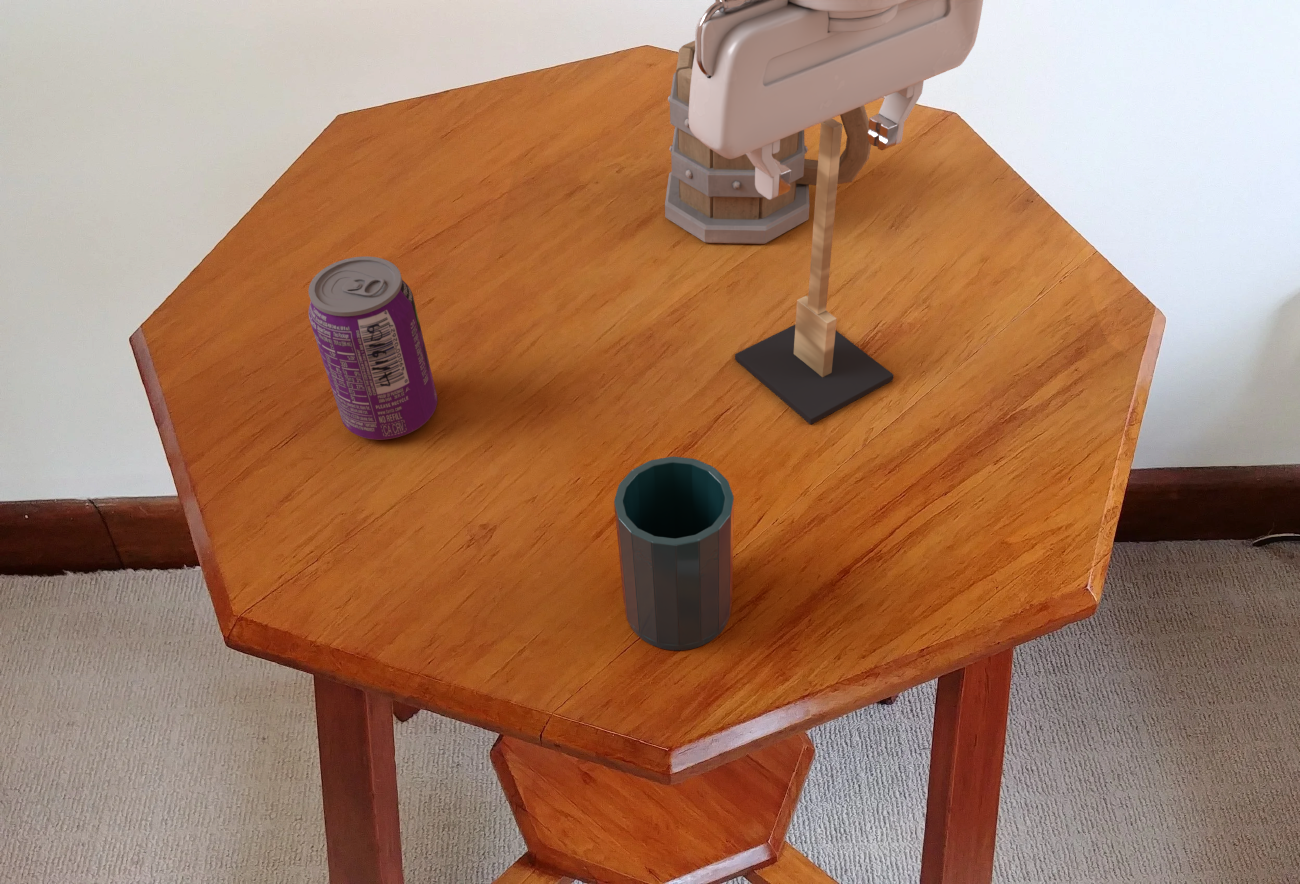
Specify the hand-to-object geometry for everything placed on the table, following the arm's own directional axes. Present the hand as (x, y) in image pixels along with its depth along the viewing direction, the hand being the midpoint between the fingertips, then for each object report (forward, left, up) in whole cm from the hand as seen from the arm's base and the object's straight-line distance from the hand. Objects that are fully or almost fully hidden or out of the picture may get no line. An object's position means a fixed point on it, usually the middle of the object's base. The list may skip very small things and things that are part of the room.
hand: (829, 167), depth 73 cm
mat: (0, 0, -17) cm, 17 cm away
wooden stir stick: (0, 0, -17) cm, 17 cm away
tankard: (+19, -12, -18) cm, 29 cm away
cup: (-12, +21, -17) cm, 30 cm away
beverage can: (+15, +28, -18) cm, 36 cm away
